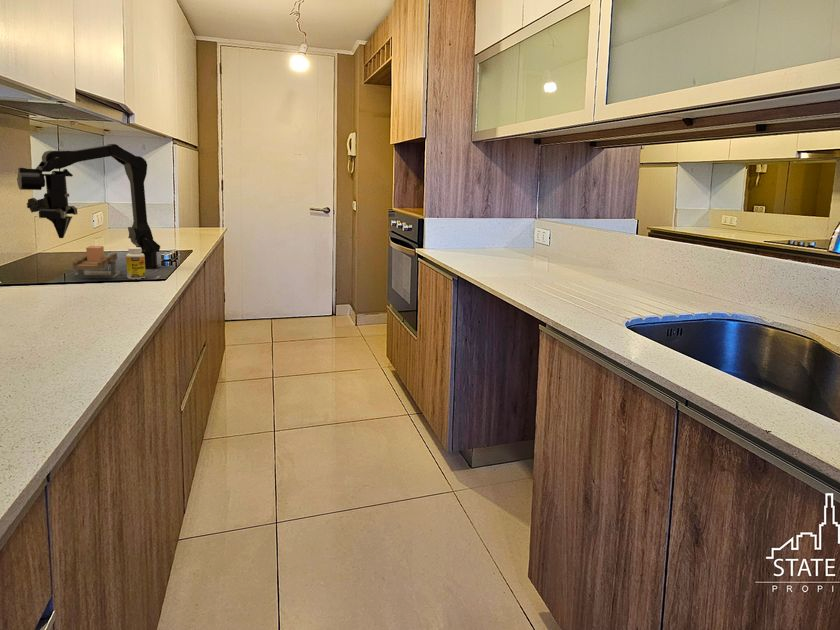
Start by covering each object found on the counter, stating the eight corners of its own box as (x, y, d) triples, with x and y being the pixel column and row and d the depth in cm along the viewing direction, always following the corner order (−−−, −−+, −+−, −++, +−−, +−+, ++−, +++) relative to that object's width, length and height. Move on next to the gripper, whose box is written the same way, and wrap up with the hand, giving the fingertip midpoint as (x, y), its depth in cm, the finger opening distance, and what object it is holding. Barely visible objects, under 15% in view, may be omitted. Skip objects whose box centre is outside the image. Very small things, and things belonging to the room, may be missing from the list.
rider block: (91, 259, 198) (90, 245, 197) (104, 259, 199) (103, 246, 198) (87, 261, 194) (86, 247, 193) (100, 261, 195) (99, 248, 194)
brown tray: (92, 258, 206) (91, 252, 205) (117, 259, 208) (116, 252, 207) (73, 269, 185) (72, 262, 185) (101, 269, 187) (100, 262, 187)
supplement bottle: (130, 280, 192) (128, 249, 190) (125, 277, 196) (122, 247, 194) (148, 279, 196) (146, 248, 194) (142, 276, 200) (140, 246, 198)
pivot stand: (81, 273, 200) (79, 259, 199) (119, 273, 203) (118, 259, 202) (74, 277, 192) (72, 262, 191) (114, 277, 195) (113, 262, 194)
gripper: (39, 188, 199) (43, 234, 202) (17, 190, 181) (23, 240, 185) (75, 189, 202) (79, 235, 205) (58, 191, 184) (62, 241, 188)
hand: (61, 238), depth 196 cm, fingers closed
